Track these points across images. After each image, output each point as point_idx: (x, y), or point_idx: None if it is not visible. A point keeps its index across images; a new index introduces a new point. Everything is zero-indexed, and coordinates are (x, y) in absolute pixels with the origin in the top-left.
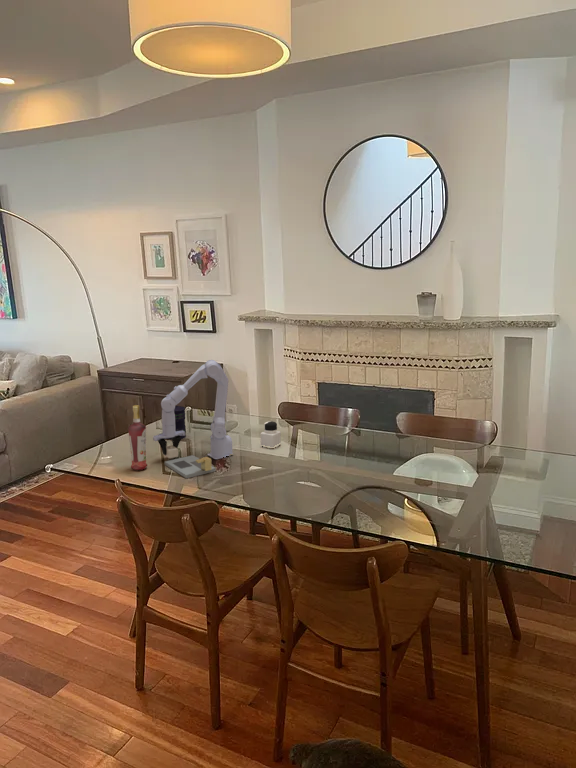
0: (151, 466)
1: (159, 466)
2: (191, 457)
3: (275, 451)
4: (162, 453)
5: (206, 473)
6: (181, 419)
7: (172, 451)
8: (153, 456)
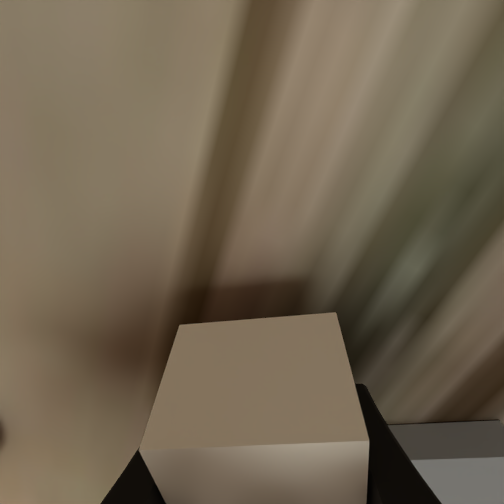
0: (46, 417)
1: (119, 443)
2: (455, 491)
3: None
4: (178, 329)
5: None
6: None
7: None
8: (80, 145)
